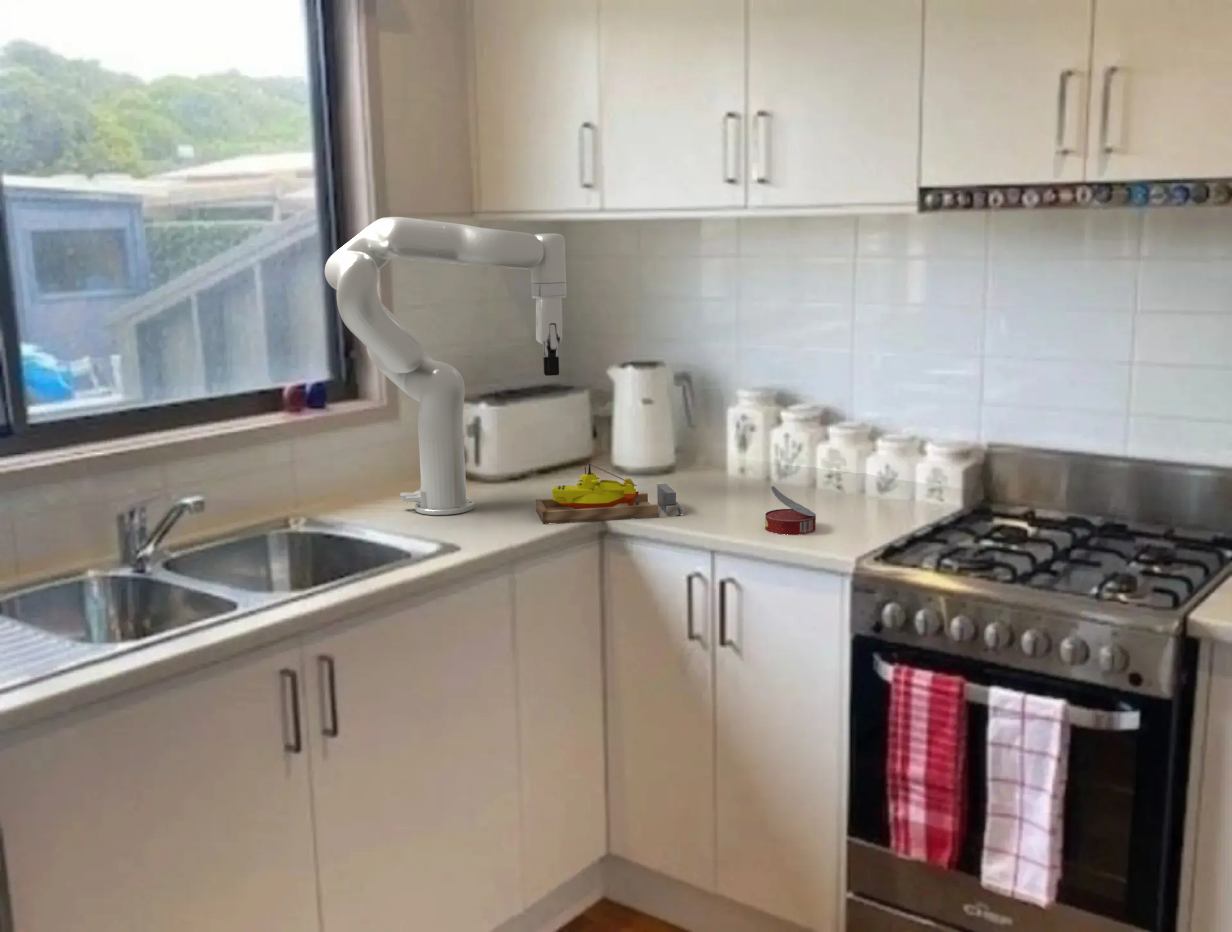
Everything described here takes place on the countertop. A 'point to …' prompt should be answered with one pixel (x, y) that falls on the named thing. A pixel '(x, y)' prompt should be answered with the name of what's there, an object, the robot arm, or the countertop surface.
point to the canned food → (790, 518)
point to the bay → (601, 511)
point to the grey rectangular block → (665, 496)
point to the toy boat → (595, 492)
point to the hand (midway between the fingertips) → (551, 374)
